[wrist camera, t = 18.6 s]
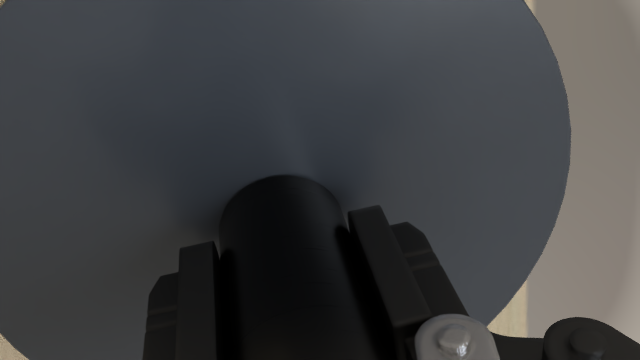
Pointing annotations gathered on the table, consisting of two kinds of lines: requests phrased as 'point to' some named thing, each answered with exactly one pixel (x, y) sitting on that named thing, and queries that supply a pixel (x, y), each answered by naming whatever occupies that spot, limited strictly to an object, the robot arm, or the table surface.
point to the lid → (266, 162)
